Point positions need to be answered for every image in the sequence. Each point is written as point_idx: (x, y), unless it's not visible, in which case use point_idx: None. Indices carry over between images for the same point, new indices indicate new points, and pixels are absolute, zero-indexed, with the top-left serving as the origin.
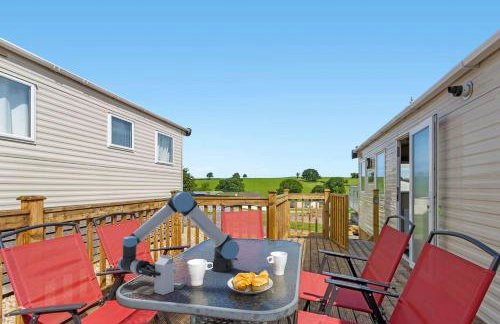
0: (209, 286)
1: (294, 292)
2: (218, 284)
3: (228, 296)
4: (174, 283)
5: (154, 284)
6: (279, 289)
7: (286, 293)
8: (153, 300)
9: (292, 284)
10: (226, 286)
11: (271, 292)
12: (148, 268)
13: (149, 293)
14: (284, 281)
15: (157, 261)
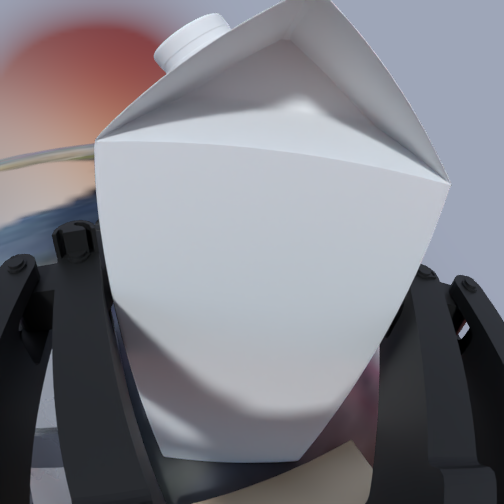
0: (37, 249)
1: (78, 145)
2: (11, 236)
3: None
4: (48, 408)
5: (320, 431)
6: (61, 155)
7: (86, 147)
8: (378, 349)
9: (27, 154)
10: (36, 213)
11: (83, 156)
12: (474, 494)
13: (355, 449)
14: (5, 164)
15: (410, 123)
